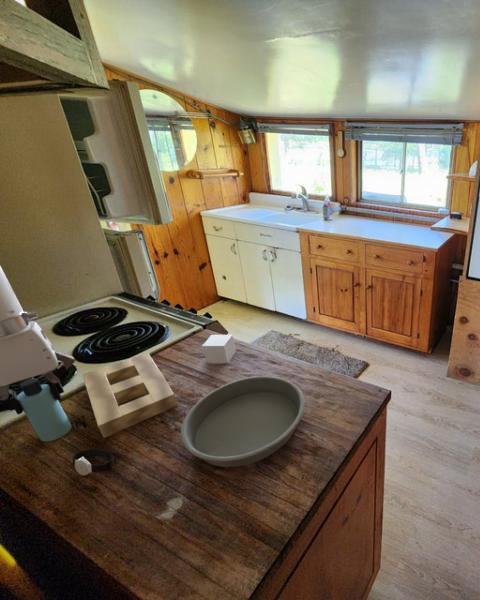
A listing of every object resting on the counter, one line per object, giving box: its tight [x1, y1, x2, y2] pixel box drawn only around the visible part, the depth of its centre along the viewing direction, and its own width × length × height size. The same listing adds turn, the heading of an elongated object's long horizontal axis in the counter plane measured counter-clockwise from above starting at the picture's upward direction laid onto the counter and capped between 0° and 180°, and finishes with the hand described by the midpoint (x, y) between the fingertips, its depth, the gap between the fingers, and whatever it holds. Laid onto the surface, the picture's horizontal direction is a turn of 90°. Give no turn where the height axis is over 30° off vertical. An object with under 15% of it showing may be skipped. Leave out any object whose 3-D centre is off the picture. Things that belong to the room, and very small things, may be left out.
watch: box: [71, 448, 115, 476], centre depth 62 cm, size 8×5×4 cm, turn 77°
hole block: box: [82, 352, 179, 439], centre depth 80 cm, size 14×24×4 cm, turn 47°
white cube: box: [201, 334, 237, 364], centre depth 95 cm, size 6×6×6 cm
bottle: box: [17, 378, 72, 442], centre depth 67 cm, size 5×5×14 cm
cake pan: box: [180, 375, 306, 468], centre depth 72 cm, size 25×25×4 cm
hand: (39, 402), depth 66 cm, fingers closed on bottle, 4 cm apart
